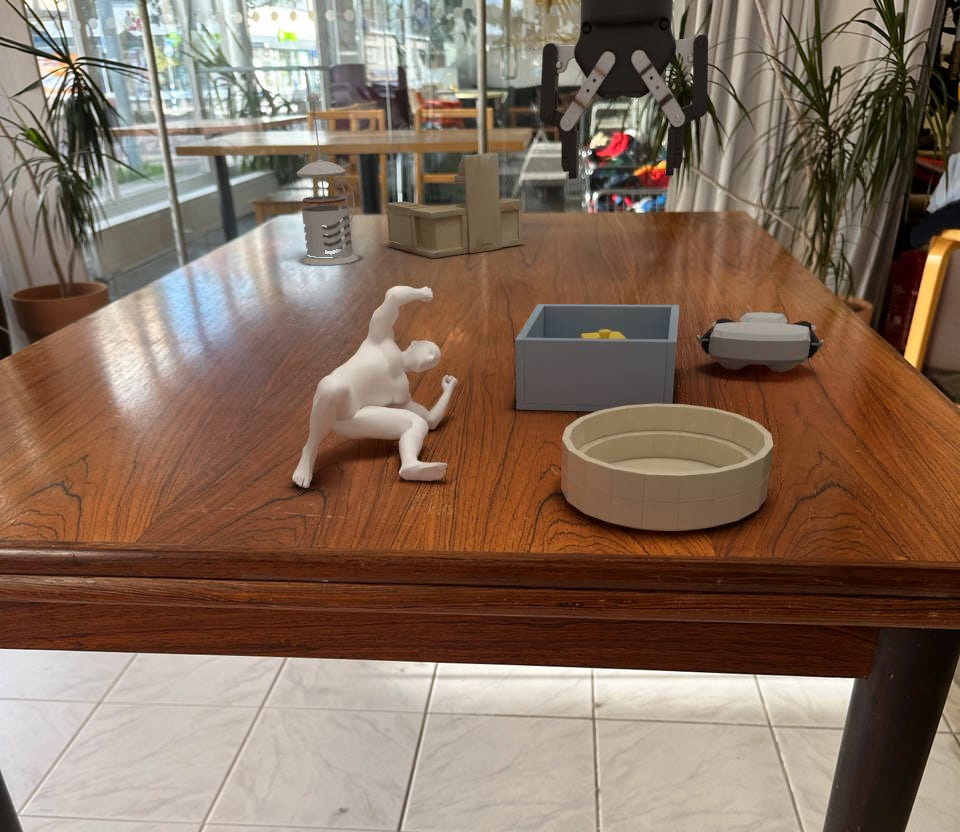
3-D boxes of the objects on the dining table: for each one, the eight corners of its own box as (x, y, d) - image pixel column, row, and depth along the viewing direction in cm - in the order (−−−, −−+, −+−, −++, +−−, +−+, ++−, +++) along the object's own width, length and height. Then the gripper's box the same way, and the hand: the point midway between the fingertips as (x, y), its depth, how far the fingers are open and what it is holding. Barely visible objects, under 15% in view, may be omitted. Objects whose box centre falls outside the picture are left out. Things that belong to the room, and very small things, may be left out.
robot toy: (705, 348, 109) (692, 375, 96) (709, 307, 107) (696, 329, 94) (816, 353, 106) (818, 382, 93) (823, 311, 104) (825, 334, 91)
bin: (674, 369, 99) (679, 304, 96) (671, 414, 87) (676, 341, 84) (537, 366, 102) (537, 303, 99) (516, 409, 90) (515, 339, 86)
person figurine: (413, 354, 67) (424, 261, 81) (248, 396, 69) (286, 299, 83) (462, 502, 76) (465, 396, 89) (314, 535, 78) (338, 427, 91)
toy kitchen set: (473, 235, 180) (470, 146, 172) (524, 245, 168) (523, 150, 160) (388, 247, 172) (381, 154, 164) (435, 259, 159) (430, 159, 151)
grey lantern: (290, 262, 161) (268, 94, 148) (334, 251, 170) (317, 91, 156) (333, 266, 157) (314, 93, 144) (377, 255, 165) (363, 90, 152)
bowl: (759, 460, 77) (766, 406, 74) (771, 541, 64) (780, 479, 62) (573, 453, 80) (574, 401, 77) (550, 529, 67) (550, 470, 64)
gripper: (717, -49, 78) (701, 170, 86) (546, -37, 80) (547, 174, 89) (719, -58, 71) (702, 179, 80) (534, -45, 74) (536, 183, 82)
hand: (620, 176), depth 84 cm, fingers open, 8 cm apart
